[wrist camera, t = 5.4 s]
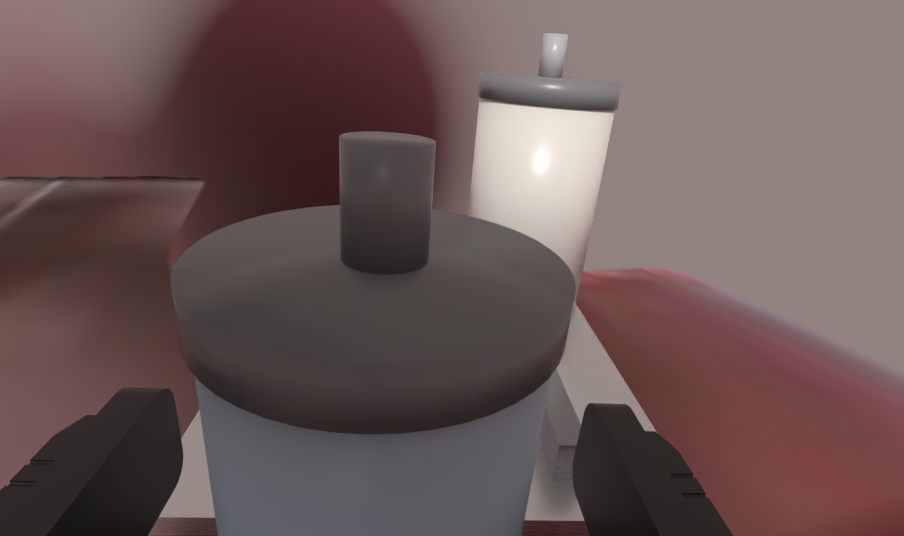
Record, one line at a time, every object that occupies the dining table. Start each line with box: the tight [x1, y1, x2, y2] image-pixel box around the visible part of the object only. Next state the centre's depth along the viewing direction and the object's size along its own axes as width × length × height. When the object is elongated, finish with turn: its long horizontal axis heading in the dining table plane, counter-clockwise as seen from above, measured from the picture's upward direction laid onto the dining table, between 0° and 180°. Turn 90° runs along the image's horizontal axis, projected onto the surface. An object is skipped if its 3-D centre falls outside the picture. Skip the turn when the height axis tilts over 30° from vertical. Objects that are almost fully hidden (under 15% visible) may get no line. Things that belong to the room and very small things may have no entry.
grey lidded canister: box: [170, 132, 576, 536], centre depth 9 cm, size 5×5×12 cm
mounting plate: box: [148, 303, 657, 536], centre depth 24 cm, size 17×21×2 cm
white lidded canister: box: [468, 33, 622, 305], centre depth 27 cm, size 7×7×14 cm
